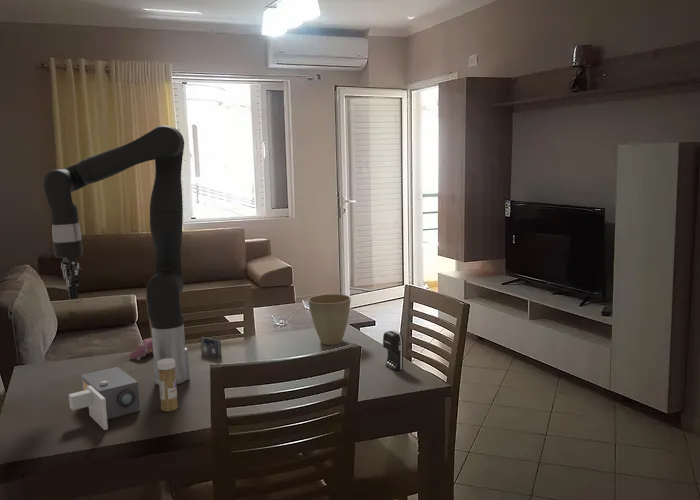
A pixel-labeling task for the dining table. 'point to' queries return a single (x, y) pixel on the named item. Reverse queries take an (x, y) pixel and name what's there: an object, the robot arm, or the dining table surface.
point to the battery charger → (394, 349)
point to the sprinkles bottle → (167, 384)
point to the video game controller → (142, 349)
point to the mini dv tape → (211, 347)
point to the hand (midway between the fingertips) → (73, 298)
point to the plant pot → (330, 316)
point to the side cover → (90, 404)
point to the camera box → (114, 390)
